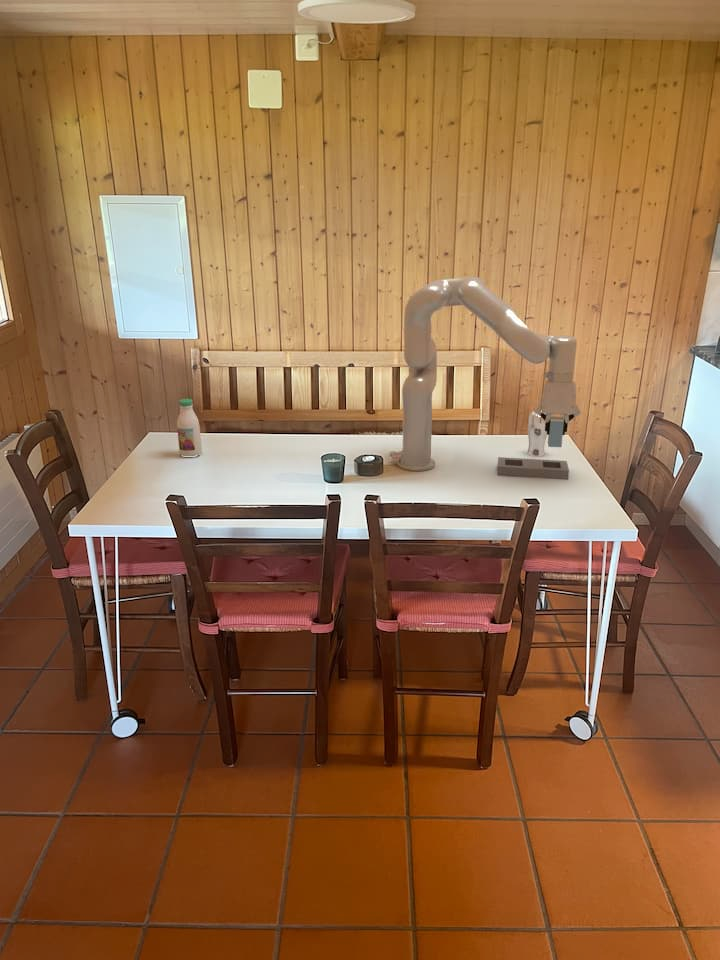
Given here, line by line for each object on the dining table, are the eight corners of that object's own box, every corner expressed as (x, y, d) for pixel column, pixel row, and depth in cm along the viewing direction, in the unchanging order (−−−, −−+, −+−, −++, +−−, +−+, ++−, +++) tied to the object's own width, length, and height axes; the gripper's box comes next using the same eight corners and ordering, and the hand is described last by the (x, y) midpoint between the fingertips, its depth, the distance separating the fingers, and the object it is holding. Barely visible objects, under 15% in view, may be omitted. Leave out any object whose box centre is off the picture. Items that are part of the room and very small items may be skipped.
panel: (497, 476, 224) (498, 466, 223) (497, 467, 233) (498, 457, 231) (567, 480, 220) (568, 470, 219) (565, 470, 229) (566, 460, 227)
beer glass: (548, 453, 244) (552, 412, 239) (542, 459, 239) (546, 417, 233) (529, 450, 248) (533, 409, 242) (522, 455, 242) (526, 414, 237)
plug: (548, 446, 220) (550, 419, 217) (547, 442, 224) (550, 415, 220) (561, 447, 219) (564, 419, 216) (560, 443, 223) (563, 416, 220)
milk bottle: (192, 449, 252) (186, 396, 244) (206, 453, 248) (201, 399, 240) (175, 455, 246) (169, 400, 239) (190, 459, 242) (184, 404, 234)
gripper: (533, 379, 212) (528, 436, 218) (590, 380, 208) (584, 438, 215) (532, 373, 218) (528, 429, 225) (587, 374, 215) (581, 431, 222)
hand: (555, 433), depth 220 cm, fingers closed on plug, 4 cm apart
